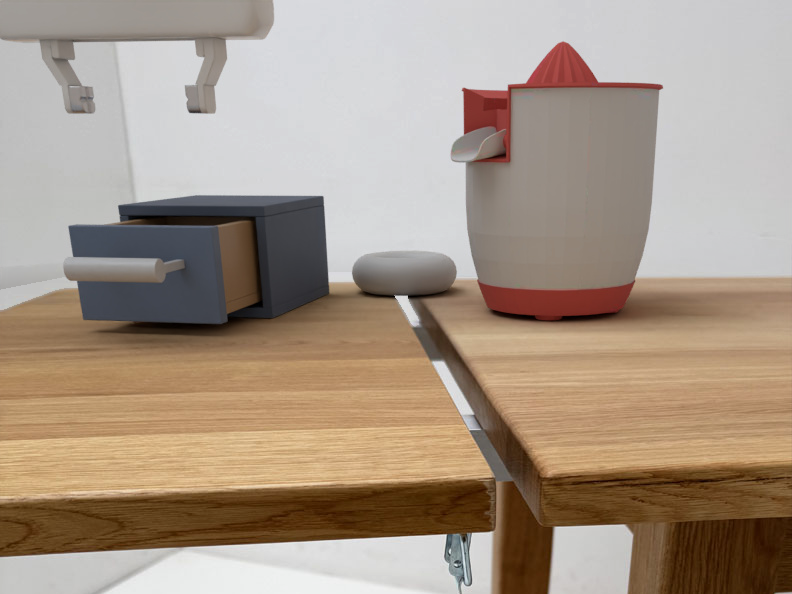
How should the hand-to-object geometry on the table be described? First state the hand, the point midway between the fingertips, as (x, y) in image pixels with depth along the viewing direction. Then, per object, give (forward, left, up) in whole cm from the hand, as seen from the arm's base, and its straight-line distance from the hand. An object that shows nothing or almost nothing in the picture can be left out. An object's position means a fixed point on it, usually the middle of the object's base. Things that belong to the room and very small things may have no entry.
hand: (141, 113), depth 74 cm
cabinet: (0, +13, -15) cm, 20 cm away
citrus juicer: (+28, +13, -15) cm, 35 cm away
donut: (+13, +23, -15) cm, 31 cm away
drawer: (0, +1, -14) cm, 14 cm away
